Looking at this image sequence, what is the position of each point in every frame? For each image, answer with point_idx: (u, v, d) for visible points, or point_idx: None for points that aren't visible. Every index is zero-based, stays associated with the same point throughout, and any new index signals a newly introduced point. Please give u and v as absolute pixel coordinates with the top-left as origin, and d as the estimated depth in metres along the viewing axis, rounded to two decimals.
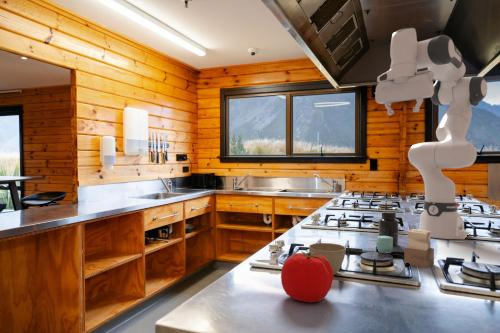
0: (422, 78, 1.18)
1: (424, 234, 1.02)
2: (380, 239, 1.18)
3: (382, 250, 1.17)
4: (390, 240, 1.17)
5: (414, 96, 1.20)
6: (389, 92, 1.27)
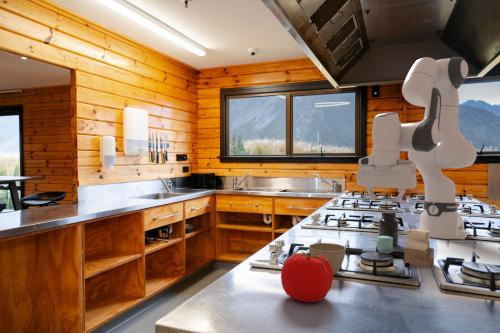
0: (404, 169, 1.12)
1: (423, 234, 1.02)
2: (380, 239, 1.18)
3: (382, 250, 1.17)
4: (390, 240, 1.17)
5: (396, 186, 1.14)
6: (371, 177, 1.21)
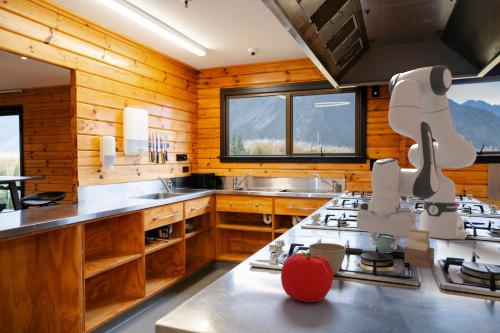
0: (404, 218, 1.12)
1: (424, 234, 1.02)
2: (380, 239, 1.18)
3: (382, 250, 1.17)
4: (390, 240, 1.17)
5: (396, 235, 1.14)
6: (370, 222, 1.21)
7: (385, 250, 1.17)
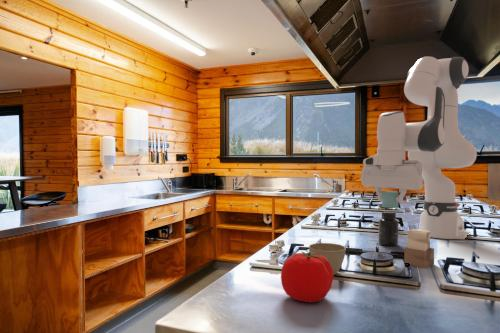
0: (410, 169, 1.09)
1: (424, 234, 1.02)
2: (385, 193, 1.15)
3: (387, 204, 1.14)
4: (396, 194, 1.14)
5: (402, 187, 1.11)
6: (376, 177, 1.18)
7: (390, 204, 1.14)
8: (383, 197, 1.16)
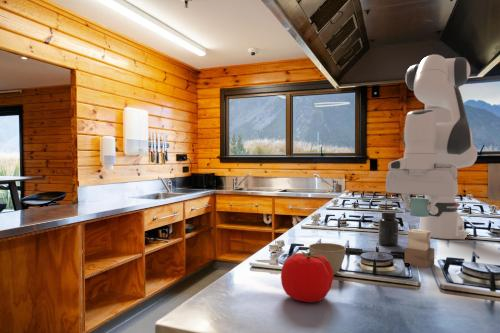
0: (444, 174, 0.98)
1: (424, 234, 1.02)
2: (414, 200, 1.03)
3: (417, 212, 1.03)
4: (426, 201, 1.02)
5: (434, 194, 1.00)
6: (403, 182, 1.07)
7: (420, 212, 1.02)
8: (412, 205, 1.04)
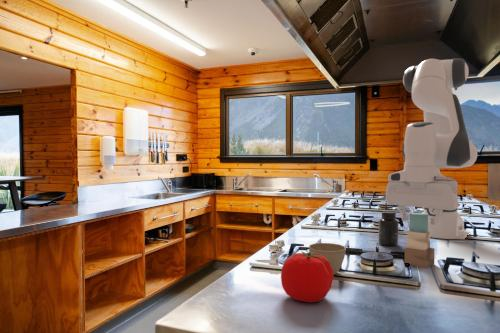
0: (444, 188, 0.98)
1: (423, 234, 1.02)
2: (414, 216, 1.04)
3: (416, 228, 1.03)
4: (425, 217, 1.03)
5: (434, 207, 1.00)
6: (403, 194, 1.07)
7: (420, 228, 1.03)
8: (411, 220, 1.05)
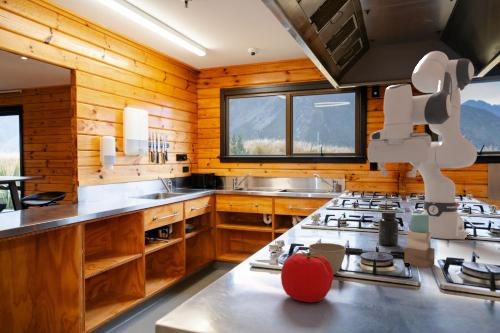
0: (419, 142, 1.07)
1: (423, 234, 1.02)
2: (414, 216, 1.04)
3: (416, 228, 1.03)
4: (426, 217, 1.03)
5: (410, 161, 1.09)
6: (383, 152, 1.16)
7: (420, 229, 1.03)
8: (411, 220, 1.05)
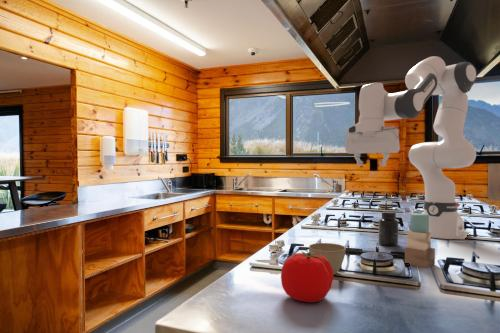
0: (388, 134, 1.20)
1: (423, 234, 1.02)
2: (414, 216, 1.04)
3: (416, 228, 1.03)
4: (426, 217, 1.03)
5: (381, 151, 1.22)
6: (358, 144, 1.29)
7: (420, 229, 1.03)
8: (411, 220, 1.05)
